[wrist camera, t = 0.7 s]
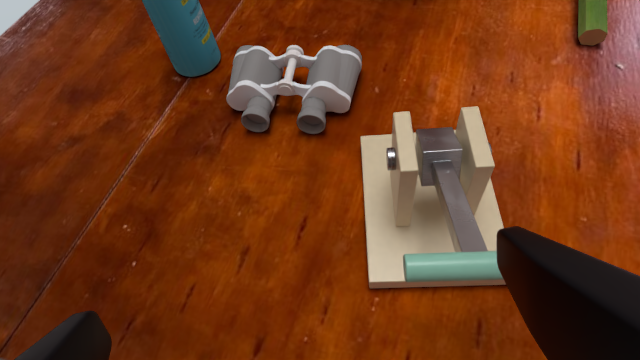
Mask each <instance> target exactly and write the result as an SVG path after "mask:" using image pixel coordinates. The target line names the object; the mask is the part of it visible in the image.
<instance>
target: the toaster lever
mask: <svg viewBox="0 0 640 360" xmlns="http://www.w3.org/2000/svg"><path fill="white" fill-rule="evenodd" d="M415 150H416V156H417V163H418V169H419V170H418V175H419V179H420V183H421V186H435V188H436V192H437V195H438V198H439V201H440V204H441V208H442V211H443V214H444V217H445V220H446V224H447V227H448V230H449V233H450V236H451V240H452V243H453V246H454V249H455V252H445V253H417V254H404V256H403V271H404V278H405V281H406V282H441V281H475V280H504V279H503V277H502V275H501V273H500V271H499V268H498V265H497V251H488V249H487V247H486V244H485V242H484V239H483V237H482V234H481V232H480V230H479V227H478V225H477V222H476V220H475V217H474V215H473V212H472V210H471V208H470V205H469V203H468V200H467V198H466V195H465V193H464V190H463V188H462V185H461V183H460V171H461V162H462V153H463V149H462V147H461V145H460V143H459V141H458V139H457V137H456V134H455V132H454V130H453V128H452V127H447V128H432V129H417V130H416V146H415Z"/></svg>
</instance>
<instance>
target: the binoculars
mask: <svg viewBox="0 0 640 360" xmlns="http://www.w3.org/2000/svg"><path fill="white" fill-rule="evenodd" d="M361 66H362V56H361V54H360V52H359V51H358V50H357V49H356V48H354V47H352V46H349V45H340V46H337V47H334V46H325V47H323V48H322V49H321V50H320V51H319V52H318V53H317V55H316V56H315V57H308V56H305V55H304V52H303V50H302V48H301V47H299V46H297V45H291V46H289V47H288V48H287V51H286V54H283V55H281V56H278V57H275V56H274V55H273V54H272V53H271V52H270V51H268V50H267V49H266V48H264V47H261V46H250V45H246V46H242V47H240V48H239V49H238V50H237V53H236V55H235V57H234V60H233V68H232V74H231V80H230V86H229V92H228V95H227V98H226V99H227V102H228V104H229V105H230V106H231V107H232V108H234V109H235V110H239V111H244V110H245V111H244V112H243V114H242V118H241V122H242V124H243V126H244V127H245V128H247V129H249V130H251V131H254V132H263V131H266V130H267V129H268V127H269V123H270V118H269V116H270V113H271V111H272V109H273V108H274V105H275V100H276V96H277V94H279V95H284V96H290V95H291V96H292V95H300V96H302V97H303V99H302V109H301V112H300V113H299V115H298V118H297V126H298V127H299V129H301V130H302V131H303V132H306V133H309V134H317V133H320V132H322V131H323V130H324V129H325V124H326V118H325V113H326V112H329V111H333V112H336V113H345V112H346V111H348V110H349V108H350V104H351V99H352V96H353V93H354V89H355V86H356V83H357V79H358V76H359V73H360V71H361ZM284 67H287V69H286V73H285V77H284V79H282V80H281V77H282V74H283V70H284ZM297 67H307V68H308V69H309V74H308V78H307V83H306V85H302V84H298V83H296V82H292V80H293V76H294V71H295V68H297Z"/></svg>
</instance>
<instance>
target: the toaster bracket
mask: <svg viewBox="0 0 640 360" xmlns="http://www.w3.org/2000/svg"><path fill="white" fill-rule="evenodd" d="M454 132H455V134H456V137H457V139H458V141H459V143H460V145H461V147H462V149H463V153H462V162H461V171H460V183H461V185H462V188H463V190H464V193H465V195H466V198H467V200H468V203H469V205H470V208H471V210H472V212H473V215H474V217H475V220H476V222H477V225H478V227H479V230H480V232H481V234H482V237H483V239H484V242H485V244H486V247H487V249H488V251H497V232H498V231H499V230H500V229H503V228H504V227H503V223H502V220H501V216H500V212H499V208H498V205H497V201H496V197H495V193H494V190H493V186H492V182H491V178H490V177H491V174H492V172H493V169H494V167H495V165H494V161H493V158H492V149H491V145H490V143H489V142H488V140H487V136H486V133H485V129H484V126H483V122H482V119H481V115H480V111H479V108H478V107H463V108H461V111H460V115H459V120H458V124H457V128H456V130H454ZM415 146H416V133H413V130H412V123H411V117H410V112H409V111H407V112H394V113H393V127H392V134H388V135H373V136H361V154H362V172H363V189H364V206H365V224H366V241H367V258H368V276H369V288H401V287H438V286H474V285H506V283H505V281H504V280H475V281H441V282H406V281H405V278H404V271H403V256H404V254H417V253H445V252H455V249H454V246H453V243H452V240H451V236H450V233H449V230H448V227H447V224H446V220H445V217H444V214H443V211H442V208H441V204H440V201H439V198H438V195H437V192H436V188H435V186H421V183H420V179H419V175H418V170H419V169H418V163H417V156H416V150H415Z"/></svg>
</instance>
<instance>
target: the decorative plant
mask: <svg viewBox="0 0 640 360" xmlns="http://www.w3.org/2000/svg"><path fill="white" fill-rule="evenodd" d="M606 35H607V0H579V2H578V39H579V41H580V43H581V44H582V45H591V46H593V45H595V44H598V43H600V42H602V41H604V40H605V38H606Z"/></svg>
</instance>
